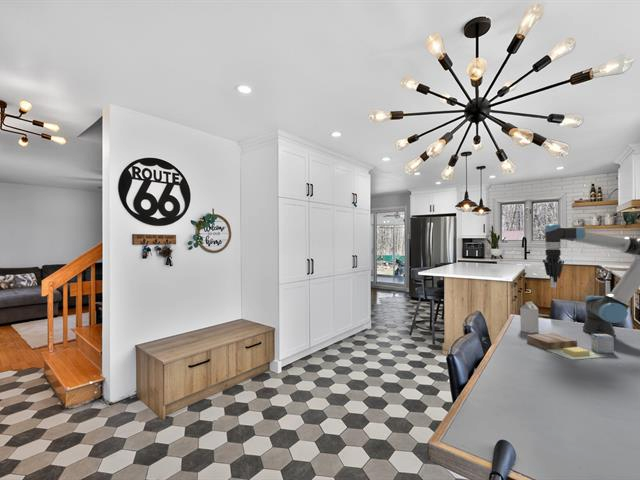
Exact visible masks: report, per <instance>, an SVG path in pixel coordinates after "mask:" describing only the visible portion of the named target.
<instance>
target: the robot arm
mask: <svg viewBox="0 0 640 480" xmlns="http://www.w3.org/2000/svg"><path fill="white" fill-rule="evenodd" d="M544 227H545V228H544V236H545V238H544V239H545V240H544V241H545V242H544V243H545V245H544V246H545V256H546V258H545V259H542V263H543V265H544V271H545V273H546V276H548V277H549V282H550V288H557V282H558V277H561V275H562V270H563V265H564V264H565V261H564V260H562V259H561V257H560V256H561V254H562V253H561V251H562V250H561V240H562V241H564V240H565V241H570V242H577V243H581V244H585V245H586V244H587V245H591V246H596V247H602V248H607V249H612V250H618V251H620V253H625V254H629V255H631V256H633V257H634V259H633V261H632V263H631V264H630V265H629V267H628V268H627V269H626V271H625V272H624V274H623V275H622V277H621V278H620V279H619V281H618V282H617V284H616V285H615V286H614V287H613V289H612V291H611V292H610V293H608V294H605V295H602V296H601V295H587V296H586V297H585V316H586V317H585V320H584V323H583V326H582V332H583V333H587V334H590V335H591V334H608V335H611V336H613V337H614V336H615V335H616V331H615V329H614V327H613V324H614V323H617V324H618V323H621V322H624V321H625V320H626V319H627V318H628V313H629V312H628V309H629V308H630V303H629V302H630V300H632V299H631V298H633V296H634V295H635V294H636V292H637V291H638V289H640V238H637V237H630V236H629V237H628V236H625V237H620V236H619V237H618V236H615V235H614V236H613V235H609V234H608V235H607V234H602V233H596V232H592V231H591V232H590V231H586V230H585V228H584V227H582V226H570V227H568V226H565V227H564V226H563V227H562V226H561V225H560V224H558V223H557V224H556V223H555V224H554V223H552V224H545V226H544ZM612 323H613V324H612Z"/></svg>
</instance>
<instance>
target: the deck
mask: <svg viewBox="0 0 640 480" xmlns="http://www.w3.org/2000/svg"><path fill="white" fill-rule="evenodd" d="M526 342H527V343H529V344H531V345H534V346H536V347H539V348H542V349H545V350H546V351H547V350H550V349H563V348H571V347H578V340H577V339H573V338H570V337H567V336H564V335H560V334H557V333H556V332H555V333H553V332H552V333H551V332H550V333H538V334H536V333H534V334H527V335H526Z"/></svg>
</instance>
